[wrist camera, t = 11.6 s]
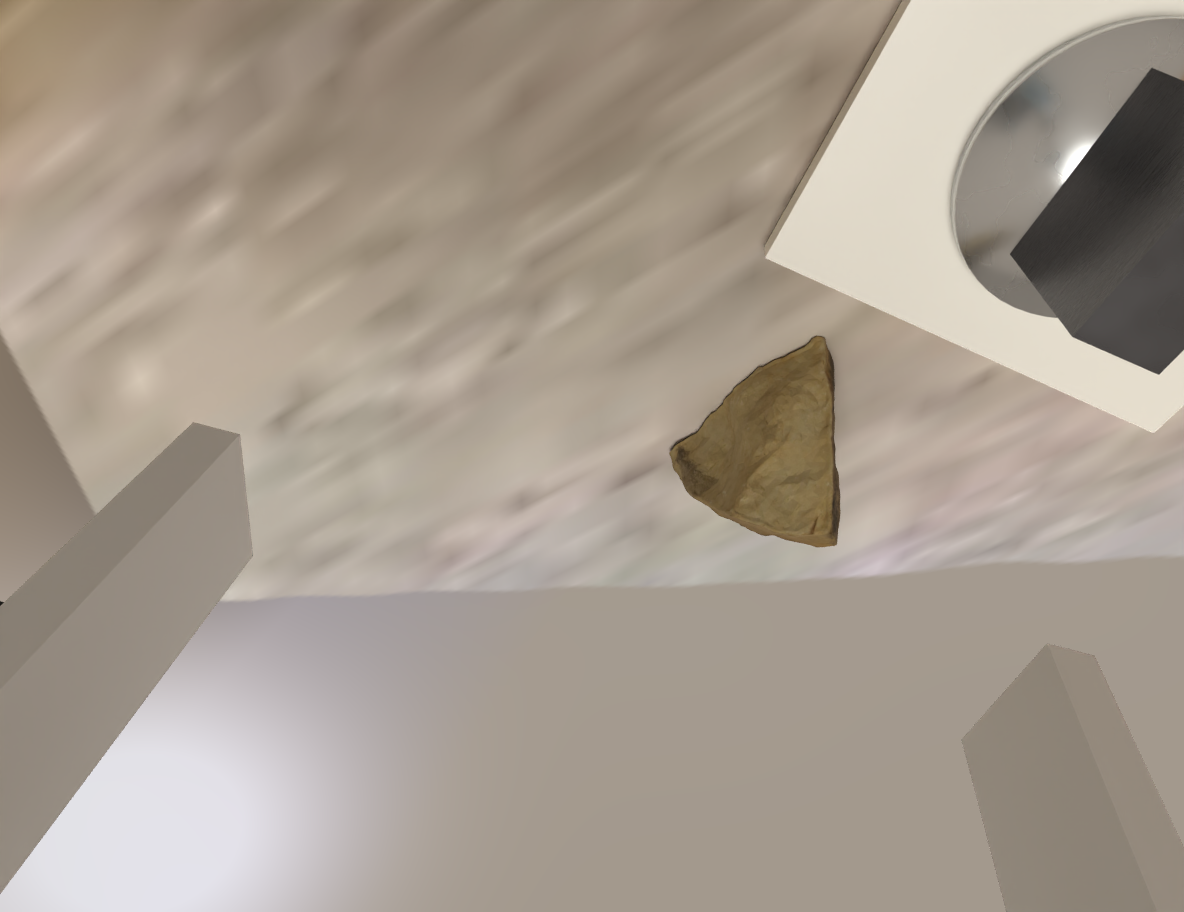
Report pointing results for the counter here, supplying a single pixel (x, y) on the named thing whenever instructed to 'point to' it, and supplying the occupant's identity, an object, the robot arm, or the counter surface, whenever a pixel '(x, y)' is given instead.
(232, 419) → the counter surface
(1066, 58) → the dial
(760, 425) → the rock
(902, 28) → the dial panel
